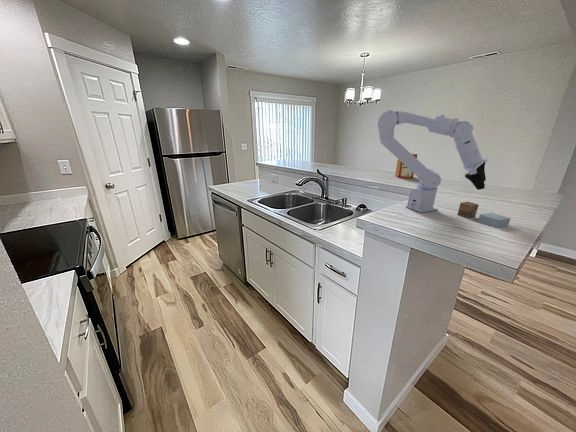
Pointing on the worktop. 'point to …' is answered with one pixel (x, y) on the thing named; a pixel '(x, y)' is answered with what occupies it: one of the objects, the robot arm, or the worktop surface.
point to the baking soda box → (404, 169)
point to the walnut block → (468, 209)
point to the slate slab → (494, 220)
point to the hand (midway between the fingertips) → (481, 185)
